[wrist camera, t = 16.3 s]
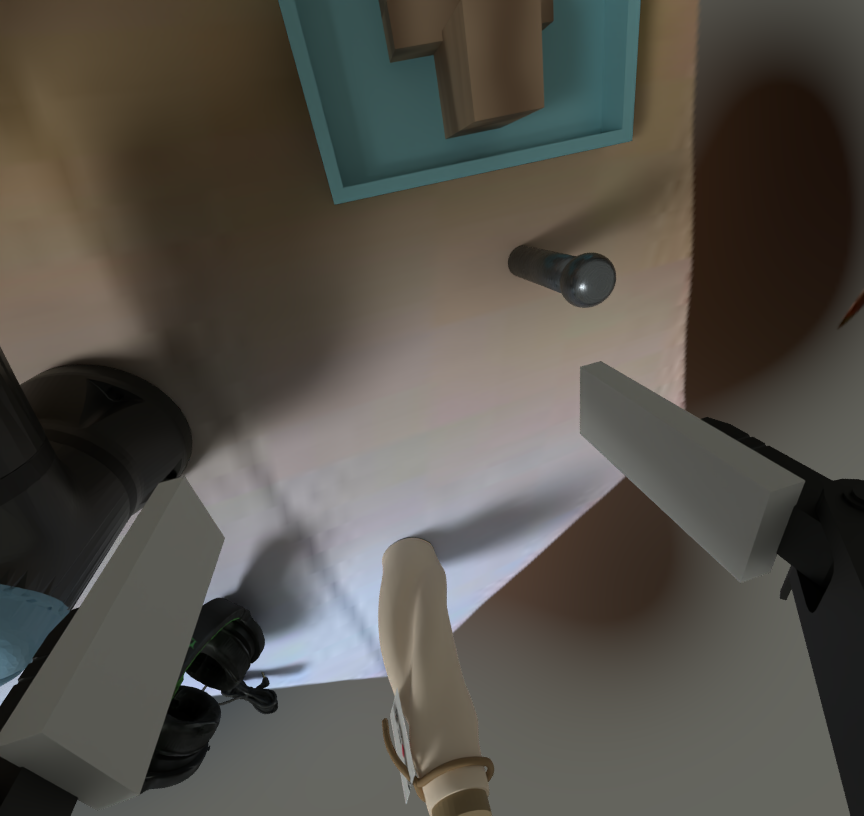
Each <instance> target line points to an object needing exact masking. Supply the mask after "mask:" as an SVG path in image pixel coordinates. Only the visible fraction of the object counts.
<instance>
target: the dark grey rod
mask: <svg viewBox="0 0 864 816" xmlns="http://www.w3.org/2000/svg"><path fill="white" fill-rule="evenodd" d="M508 267H509V270H510V272H511V273H512V274H514V275H515V276H518V277H520V278H523V279H526V280H528V281H531V282H533V283H536V284H538V285H541V286H544V287H546V288H549V289H551V290H554V291H557V292H559V293H562V295H563V297H564V298H565V299H566V300H567V301H568V302H569V303H570V304H572V305H574V306H577V307H582V308H588V307H593V306H596V305H598V304H600V303H602V302H603V301H604V300H605V299H607V298H608V296H609V295H610V294H611V292H612V291H613V289H614V286H615V282H616V271H615V268H614V266H613V264H612V262H611V261H610V260H609V259H608V258H607V257H605V256H603V255H601V254H598V253H584V254H581V255H578V256H572V255H567V254H562V253H558V252H553V251H548V250H543V249H539V248H534V247H529V246H519V247H517V248H515V249H514V250H513V251H512V253H511V254H510V256H509V259H508Z"/></svg>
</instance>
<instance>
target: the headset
mask: <svg viewBox="0 0 864 816" xmlns="http://www.w3.org/2000/svg"><path fill="white" fill-rule="evenodd" d="M264 645H265V639H264V635H263V632H262V630H261V628H260V627H259V625H258V624H257V622H256V621H255V620H254V619H253V618H252V617H251V615H250V611H249V610H247V609H245V608H243V607H241V606H238V605H236V604H234V603H232V602H230V601H228V600H226V599H223V598H216V599H213V600H211V601H209V602H207V603H206V604H204V605H203V606H202V608H201V611H200V614H199V617H198V620H197V623H196V626H195V629H194V632H193V635H192V638H191V641H190V645H189V648H188V651H187V654H186V657H185V660H184V663H183V666H182V669H181V672H180V675H179V678H178V681H177V684H176V687H175V690H174V693H173V696H172V699H171V702H170V705H169V708H168V711H167V714H166V717H165V720H164V723H163V726H162V729H161V732H160V735H159V738H158V741H157V744H156V747H155V750H154V753H153V756H152V759H151V762H150V765H149V768H148V771H147V774H146V777H145V780H144V783H143V786H142V789H141V792H140V794H141V793H143V792H144V791H146V790H149V789H158V788H165V787H170V786H173V785H176V784H178V783H181V782H182V781H184V780H186V779H187V778H189V777H190V776H191V775H193V773H194V772H195V771H196V770H197V769H198V768H199V766H200V764H201V763H202V761H203V759H204V757H205V755H206V752H207V751H209V749H210V746H209V747H208V742H209V740H210V739H211V737H212V736H213V734H214V733H215V731H216V728H217V727H218V725H219V722H220V718H221V710H220V705H224V704H227V703H230V702H232V701H234V700H236V699H244V700H247V701H249V702H250V703H251V704H253V706H254V707H255V709H256V710H258V711H259V712H260V713H262V714H270V713H273V712H275V711H276V710H277V708H278V701H277V695H276V693H275V692H274V691H273V690H269V689H263V688H265V687H267V686H268V685H269V684H270V683H269V680H268V678H267V677H265V676H264V673H263V672H262V677H263V680H262V683H261V684H260V685H259V686H257V687H256V688H253V687H249V686H247V685H246V684H245V682H244V681H243V678H244V676H245V674H246V671H247V670H248V669H249V668H250V663H253V662H255V661H256V660H257V659H258V658H259V656H260V654H261V652H262V651H263V649H264ZM185 671H186V672H187V674H188V675H190V676H191V677H192V678H194V679H195V680H197V681H199V682H201V683H202V684H204V685H205V686H204V688H203V689H202V690H199V689H197V688H194V687H189V686H181V683H182V682H183V680H184V679H183V677H184V673H185ZM207 686H208V687H211V688H214V689H217V690H221V694H222V695H223V696H226V697H233V698H234V699H231V700H229V701H226V702H223V703H218V702H217V701H216V700H215V699H214V698H213V697H212V696H211V695H209V694H208V693H207V692H204V690H205V689H206V687H207Z"/></svg>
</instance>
